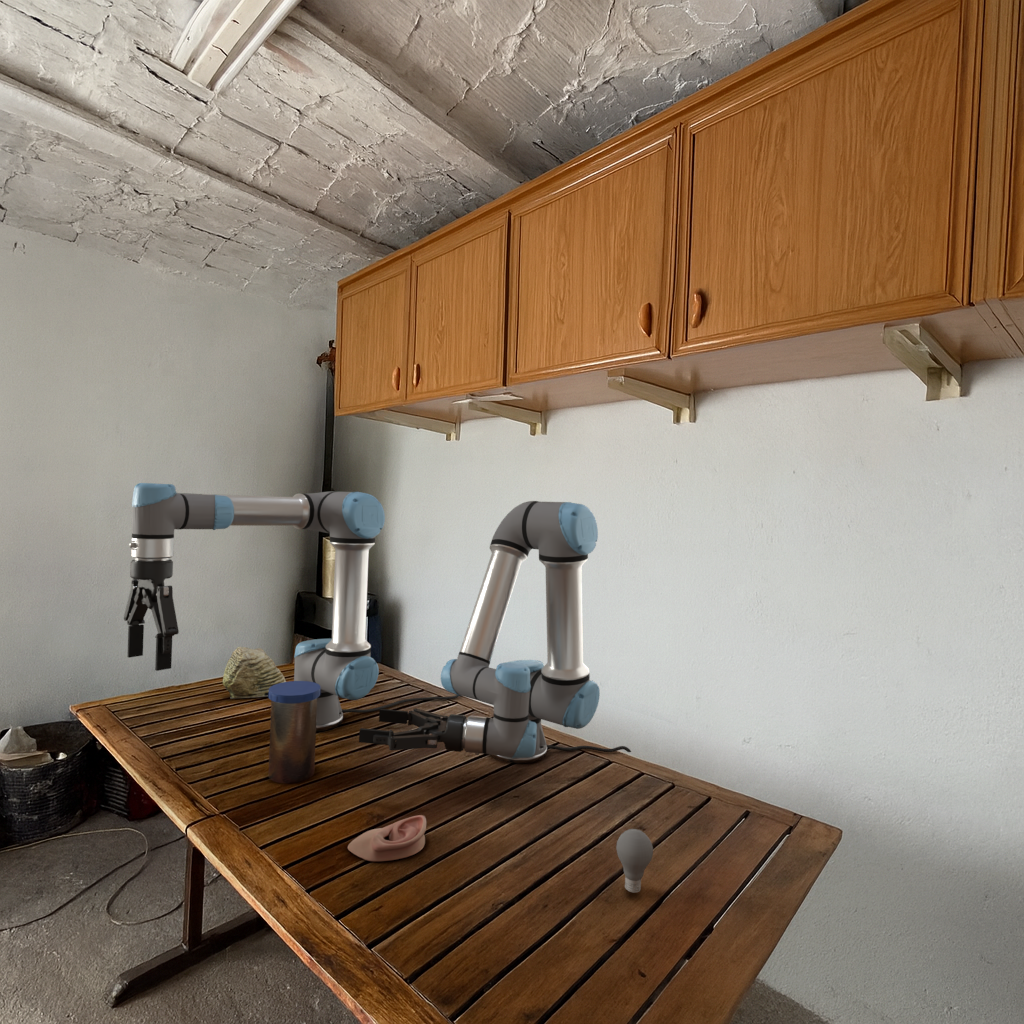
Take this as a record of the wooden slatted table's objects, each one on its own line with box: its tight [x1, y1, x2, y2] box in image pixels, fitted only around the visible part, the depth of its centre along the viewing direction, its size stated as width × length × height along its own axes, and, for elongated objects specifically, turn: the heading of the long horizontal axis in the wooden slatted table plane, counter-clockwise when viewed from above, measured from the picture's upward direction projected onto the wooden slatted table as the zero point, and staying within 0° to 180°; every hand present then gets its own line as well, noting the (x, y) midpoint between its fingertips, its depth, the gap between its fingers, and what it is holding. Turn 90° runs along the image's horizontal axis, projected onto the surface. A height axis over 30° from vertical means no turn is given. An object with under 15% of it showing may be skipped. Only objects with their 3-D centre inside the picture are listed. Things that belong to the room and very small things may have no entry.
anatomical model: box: [347, 814, 427, 862], centre depth 116 cm, size 13×4×12 cm
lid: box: [267, 680, 321, 703], centre depth 144 cm, size 11×11×2 cm
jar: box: [268, 698, 317, 784], centre depth 144 cm, size 10×10×19 cm
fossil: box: [222, 646, 287, 699], centre depth 198 cm, size 9×18×15 cm, turn 132°
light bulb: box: [615, 828, 654, 894], centre depth 106 cm, size 6×6×10 cm
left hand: (148, 662), depth 129 cm, fingers open, 13 cm apart
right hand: (369, 724), depth 139 cm, fingers open, 13 cm apart
